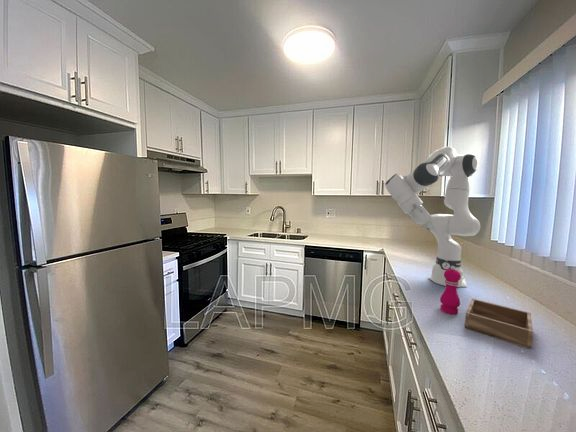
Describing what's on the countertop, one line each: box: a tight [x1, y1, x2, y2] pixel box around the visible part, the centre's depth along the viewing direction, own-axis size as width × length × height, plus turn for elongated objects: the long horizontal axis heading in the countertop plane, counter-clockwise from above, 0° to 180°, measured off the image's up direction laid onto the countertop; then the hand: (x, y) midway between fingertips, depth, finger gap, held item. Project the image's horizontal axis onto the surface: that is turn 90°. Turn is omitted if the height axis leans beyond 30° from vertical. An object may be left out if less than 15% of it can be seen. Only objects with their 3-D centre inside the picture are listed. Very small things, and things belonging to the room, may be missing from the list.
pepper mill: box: [439, 266, 461, 315], centre depth 106 cm, size 7×7×20 cm
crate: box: [464, 298, 534, 350], centre depth 94 cm, size 18×18×6 cm
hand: (432, 231), depth 109 cm, fingers open, 8 cm apart
